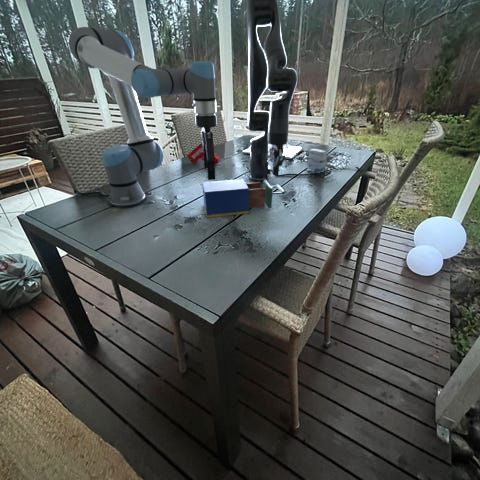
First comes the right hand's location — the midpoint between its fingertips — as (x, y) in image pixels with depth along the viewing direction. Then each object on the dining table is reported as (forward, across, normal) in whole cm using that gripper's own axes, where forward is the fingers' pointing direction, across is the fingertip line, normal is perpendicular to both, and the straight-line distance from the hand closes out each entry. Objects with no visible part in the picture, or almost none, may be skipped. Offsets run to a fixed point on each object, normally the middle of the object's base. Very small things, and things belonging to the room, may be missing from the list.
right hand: (275, 174), depth 112 cm
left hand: (-3, 0, -27) cm, 27 cm away
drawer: (+13, 0, -8) cm, 15 cm away
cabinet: (+14, 0, -21) cm, 25 cm away
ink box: (+14, -38, +37) cm, 55 cm away
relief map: (+14, -85, +27) cm, 90 cm away
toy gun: (+14, -68, -24) cm, 73 cm away
